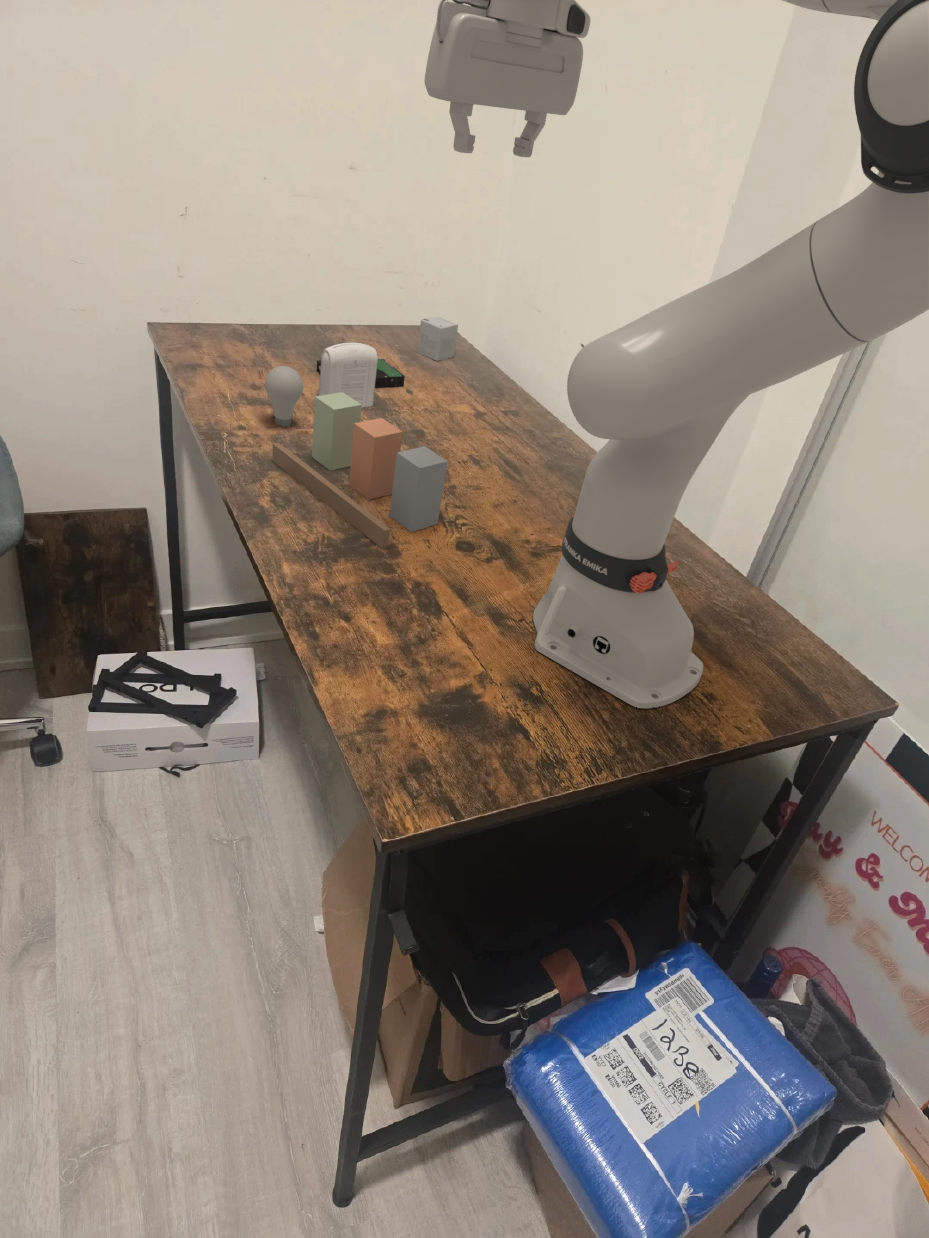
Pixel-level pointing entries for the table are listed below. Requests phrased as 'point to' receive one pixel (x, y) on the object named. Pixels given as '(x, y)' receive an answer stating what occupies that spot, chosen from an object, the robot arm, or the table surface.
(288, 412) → the lightbulb
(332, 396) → the sage green block
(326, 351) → the photo printer
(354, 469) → the terracotta rectangular block
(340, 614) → the table surface
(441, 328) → the skincare box
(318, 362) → the disk drive
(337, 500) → the cream board with rail
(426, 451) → the blue-grey block
